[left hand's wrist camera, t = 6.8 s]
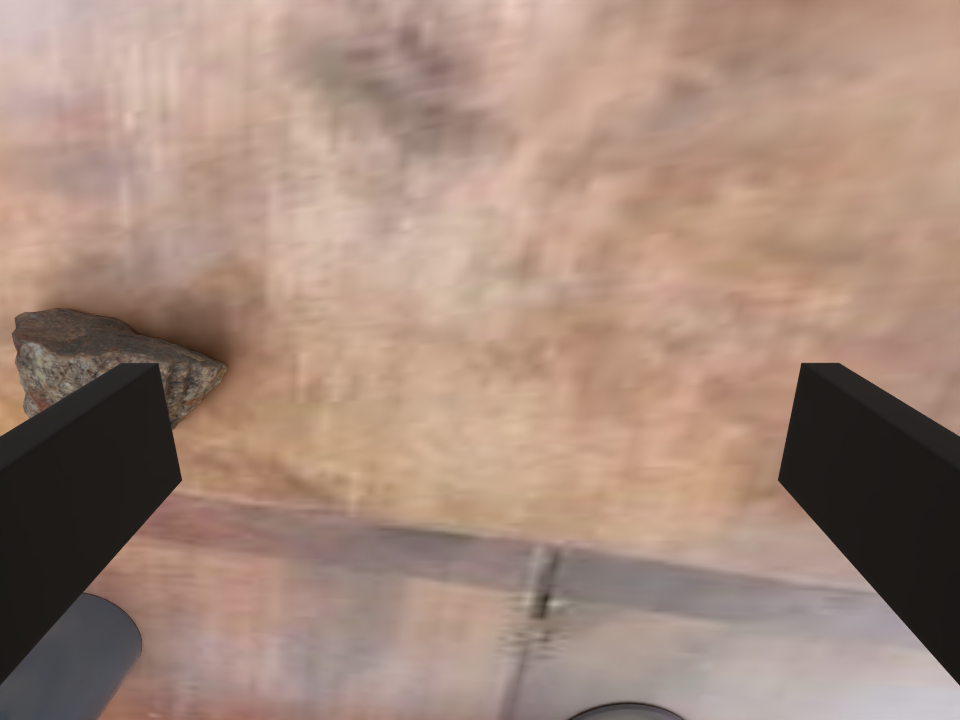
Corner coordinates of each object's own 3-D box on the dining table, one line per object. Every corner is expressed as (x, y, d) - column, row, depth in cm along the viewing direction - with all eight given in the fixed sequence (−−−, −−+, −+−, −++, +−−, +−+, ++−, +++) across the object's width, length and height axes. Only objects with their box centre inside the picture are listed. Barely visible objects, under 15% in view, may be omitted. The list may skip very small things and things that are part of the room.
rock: (43, 263, 40) (31, 391, 43) (-80, 289, 32) (-84, 444, 35) (247, 335, 41) (220, 456, 44) (177, 378, 32) (150, 523, 36)
